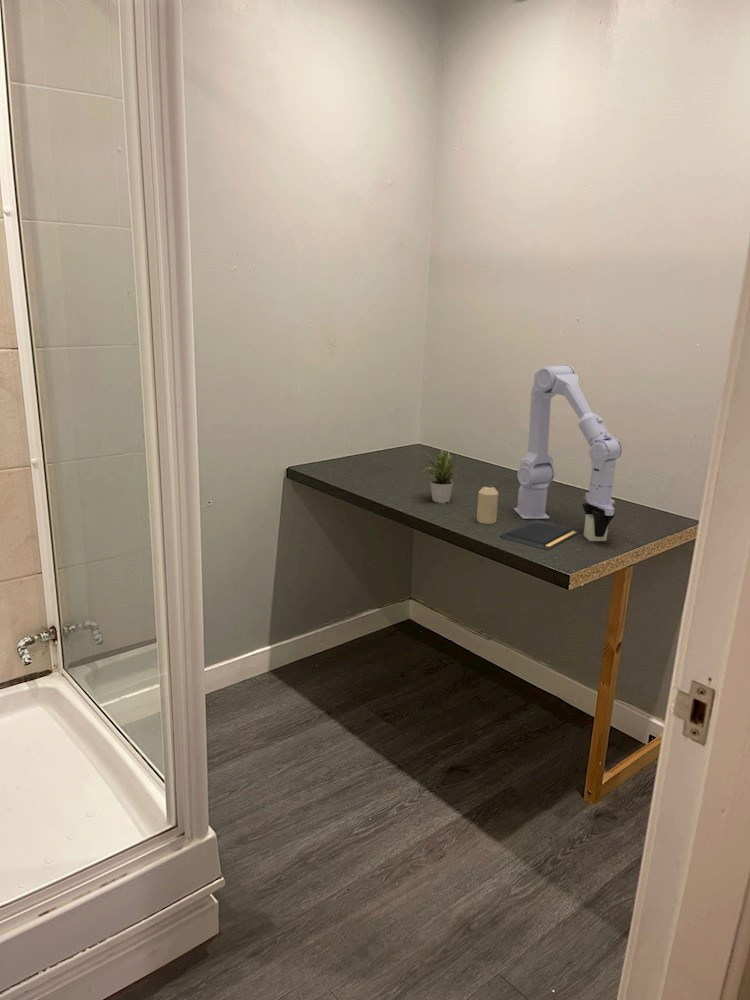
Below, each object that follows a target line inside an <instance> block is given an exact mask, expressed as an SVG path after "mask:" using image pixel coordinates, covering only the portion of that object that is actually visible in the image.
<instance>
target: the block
mask: <svg viewBox="0 0 750 1000" xmlns="http://www.w3.org/2000/svg"><path fill="white" fill-rule="evenodd" d="M608 529H609V526H608V527H607V529H606V531H605V534H604V536H603V537H596V536H595V524H594V517H593V514H585V520H584V529H583V536H584V537H585V538H586V540H588V541H589V542H607V538H608Z"/></svg>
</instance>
